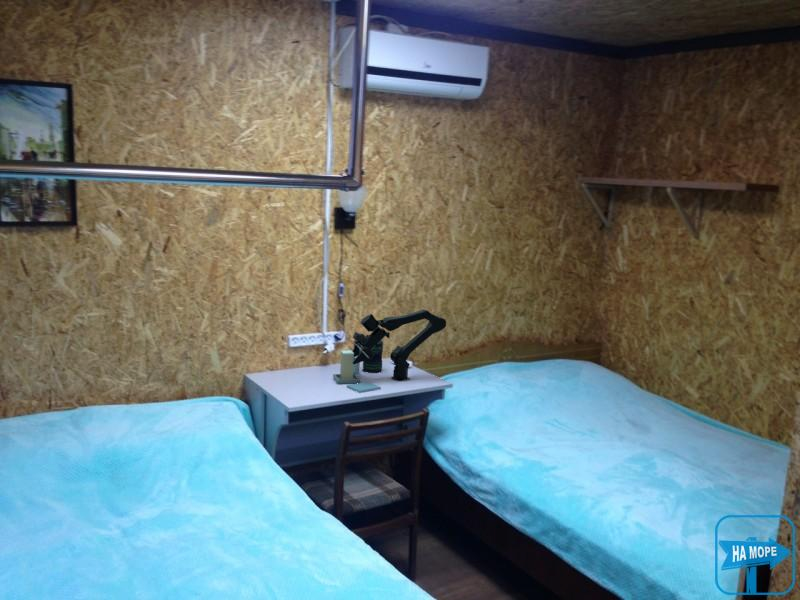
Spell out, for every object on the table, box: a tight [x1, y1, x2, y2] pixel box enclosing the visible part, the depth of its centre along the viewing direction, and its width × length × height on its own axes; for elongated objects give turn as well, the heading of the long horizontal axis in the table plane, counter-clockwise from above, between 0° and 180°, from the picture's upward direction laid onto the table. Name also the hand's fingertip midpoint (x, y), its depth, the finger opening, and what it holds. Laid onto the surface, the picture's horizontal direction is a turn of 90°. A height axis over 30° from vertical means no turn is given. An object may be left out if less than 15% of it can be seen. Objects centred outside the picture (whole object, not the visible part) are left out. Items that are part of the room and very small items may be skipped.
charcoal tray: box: [332, 373, 361, 385], centre depth 323 cm, size 11×11×2 cm
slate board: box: [346, 381, 382, 394], centre depth 313 cm, size 12×10×1 cm
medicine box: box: [353, 356, 361, 375], centre depth 337 cm, size 8×4×9 cm, turn 62°
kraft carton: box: [339, 349, 354, 380], centre depth 322 cm, size 5×5×14 cm
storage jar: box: [362, 340, 384, 374], centre depth 343 cm, size 10×10×15 cm
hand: (350, 361), depth 322 cm, fingers open, 9 cm apart
